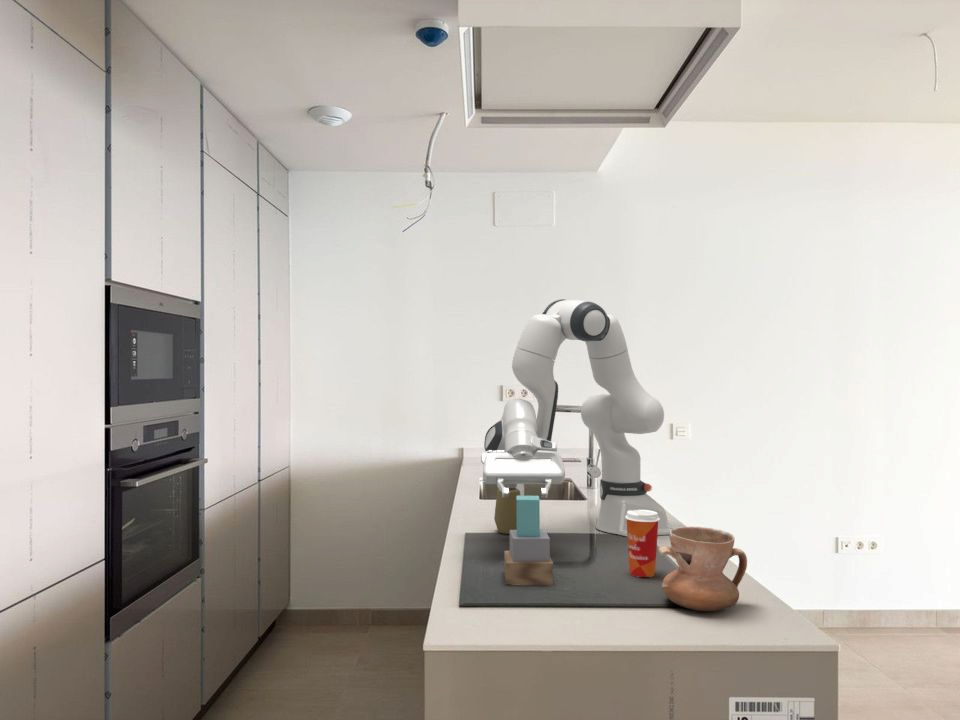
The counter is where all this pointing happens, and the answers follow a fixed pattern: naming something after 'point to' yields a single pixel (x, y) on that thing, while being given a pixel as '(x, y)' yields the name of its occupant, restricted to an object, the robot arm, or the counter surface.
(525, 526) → the teal block
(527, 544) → the grey top block
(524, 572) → the walnut base block
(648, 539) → the paper cup
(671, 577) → the ceramic jug
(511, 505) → the squeeze bottle
